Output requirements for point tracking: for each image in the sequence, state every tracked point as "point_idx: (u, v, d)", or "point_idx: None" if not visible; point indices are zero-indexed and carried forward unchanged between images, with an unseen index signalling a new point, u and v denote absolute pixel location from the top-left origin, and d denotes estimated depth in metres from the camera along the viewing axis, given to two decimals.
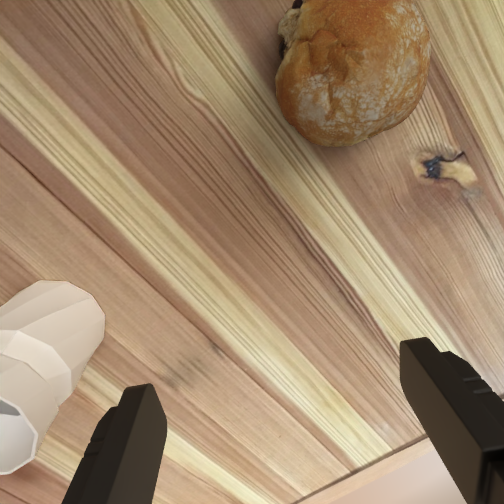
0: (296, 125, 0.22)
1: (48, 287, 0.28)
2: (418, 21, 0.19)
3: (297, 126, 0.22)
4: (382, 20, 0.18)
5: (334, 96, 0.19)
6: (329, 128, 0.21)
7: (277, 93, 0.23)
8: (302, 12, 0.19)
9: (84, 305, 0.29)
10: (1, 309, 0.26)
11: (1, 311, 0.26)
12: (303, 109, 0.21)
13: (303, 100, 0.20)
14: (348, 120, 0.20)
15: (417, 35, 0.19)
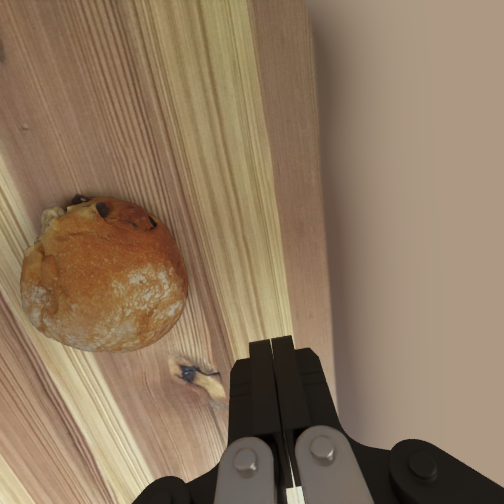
0: None
1: None
2: (164, 288, 0.19)
3: None
4: (105, 286, 0.17)
5: (43, 320, 0.18)
6: (45, 334, 0.19)
7: None
8: (50, 226, 0.18)
9: None
10: None
11: None
12: (23, 306, 0.19)
13: (23, 300, 0.19)
14: (59, 341, 0.19)
15: (152, 303, 0.19)
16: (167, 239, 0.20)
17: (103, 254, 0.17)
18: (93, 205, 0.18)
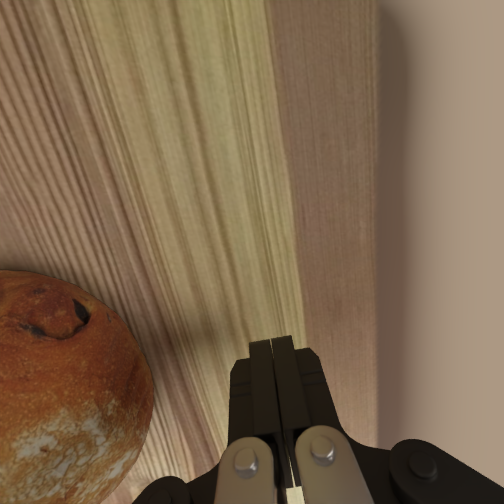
0: None
1: None
2: (96, 442, 0.10)
3: None
4: None
5: None
6: None
7: None
8: None
9: None
10: None
11: None
12: None
13: None
14: None
15: (72, 477, 0.10)
16: (108, 343, 0.11)
17: None
18: None
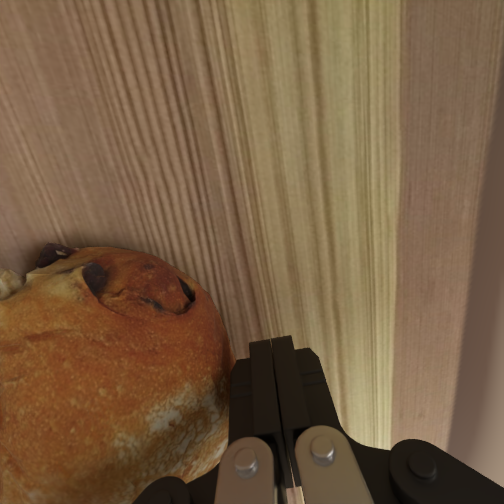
0: None
1: None
2: (211, 419, 0.10)
3: None
4: (100, 448, 0.08)
5: None
6: None
7: None
8: None
9: None
10: None
11: None
12: None
13: None
14: None
15: (190, 454, 0.10)
16: (213, 321, 0.11)
17: (97, 381, 0.08)
18: (77, 271, 0.09)
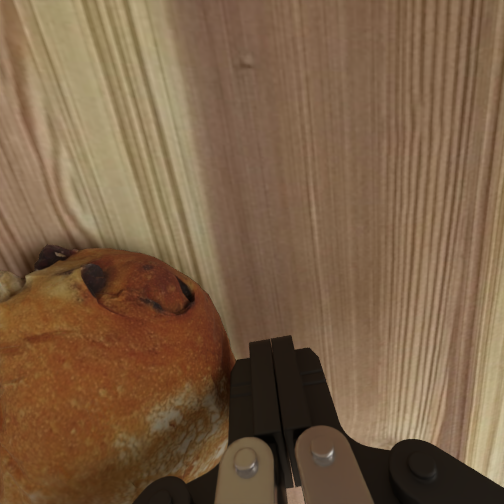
0: None
1: None
2: (211, 419, 0.10)
3: None
4: (100, 448, 0.08)
5: None
6: None
7: None
8: None
9: None
10: None
11: None
12: None
13: None
14: None
15: (191, 454, 0.10)
16: (212, 321, 0.11)
17: (98, 381, 0.08)
18: (76, 272, 0.09)
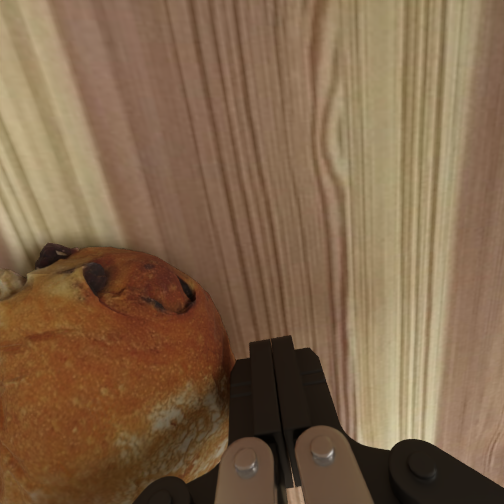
0: None
1: None
2: (212, 418, 0.10)
3: None
4: (102, 447, 0.08)
5: None
6: None
7: None
8: None
9: None
10: None
11: None
12: None
13: None
14: None
15: (192, 453, 0.10)
16: (213, 320, 0.11)
17: (99, 380, 0.08)
18: (78, 271, 0.09)
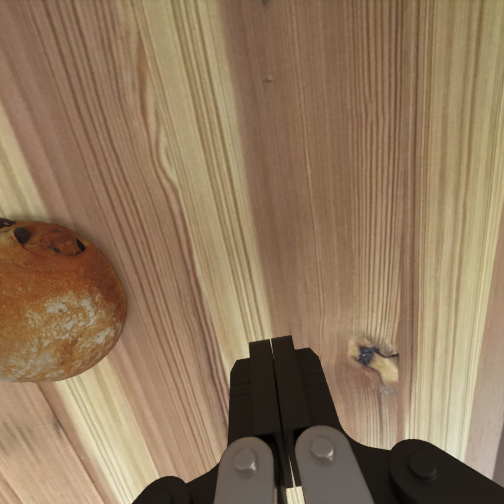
0: None
1: None
2: (89, 315, 0.18)
3: None
4: (18, 316, 0.16)
5: None
6: None
7: None
8: None
9: None
10: None
11: None
12: None
13: None
14: None
15: (75, 332, 0.18)
16: (96, 263, 0.19)
17: (17, 283, 0.16)
18: (11, 231, 0.17)
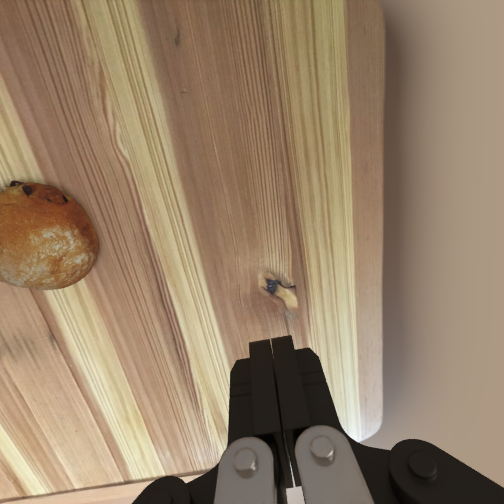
0: None
1: None
2: (70, 242, 0.29)
3: None
4: (25, 237, 0.27)
5: None
6: None
7: None
8: None
9: None
10: None
11: None
12: None
13: None
14: None
15: (61, 252, 0.28)
16: (75, 211, 0.30)
17: (24, 217, 0.27)
18: (20, 186, 0.28)
